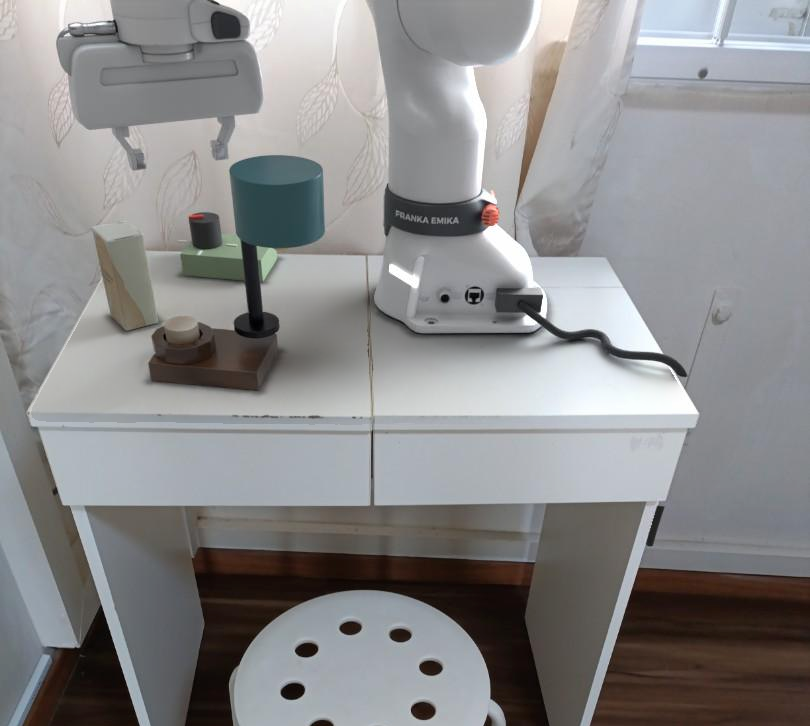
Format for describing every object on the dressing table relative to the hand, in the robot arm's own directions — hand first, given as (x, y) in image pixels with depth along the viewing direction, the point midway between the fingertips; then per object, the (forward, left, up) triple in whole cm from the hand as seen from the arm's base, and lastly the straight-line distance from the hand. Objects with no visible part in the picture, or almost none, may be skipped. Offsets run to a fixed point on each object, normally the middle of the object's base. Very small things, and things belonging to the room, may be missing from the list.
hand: (180, 163), depth 90 cm
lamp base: (-6, +14, -17) cm, 23 cm away
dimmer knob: (+3, -13, -14) cm, 19 cm away
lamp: (-14, +12, -13) cm, 22 cm away
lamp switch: (-3, +15, -14) cm, 20 cm away
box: (+7, +5, -17) cm, 19 cm away
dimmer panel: (0, -13, -17) cm, 21 cm away
